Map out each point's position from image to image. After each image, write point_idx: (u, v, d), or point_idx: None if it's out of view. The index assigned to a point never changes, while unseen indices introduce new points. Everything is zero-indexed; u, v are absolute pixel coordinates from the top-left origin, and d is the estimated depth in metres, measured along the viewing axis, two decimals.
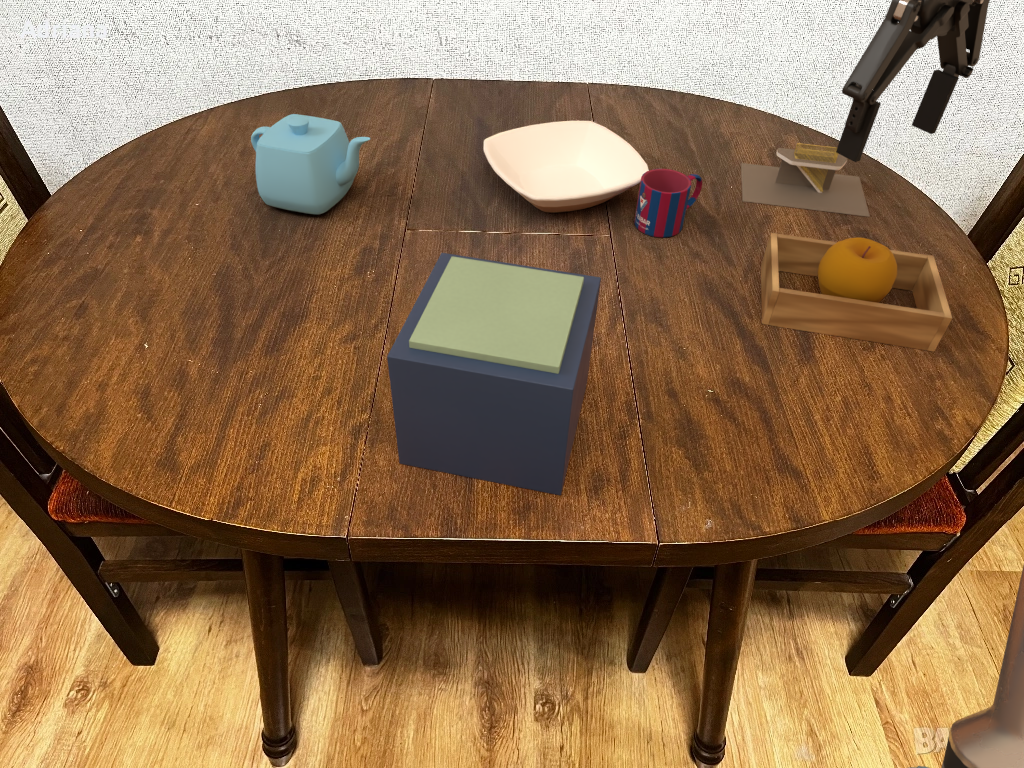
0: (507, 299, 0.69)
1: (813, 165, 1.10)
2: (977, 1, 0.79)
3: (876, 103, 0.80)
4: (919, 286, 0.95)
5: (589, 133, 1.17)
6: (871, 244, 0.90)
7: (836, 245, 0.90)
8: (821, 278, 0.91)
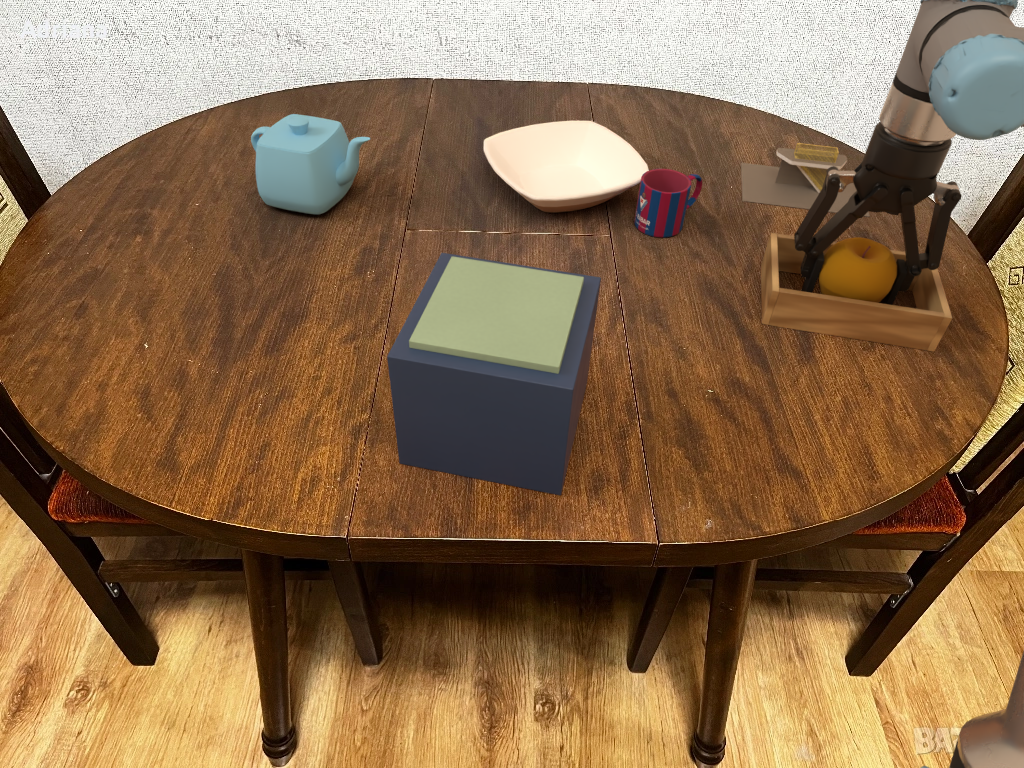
0: (507, 299, 0.69)
1: (813, 165, 1.10)
2: (938, 201, 0.82)
3: (820, 259, 0.90)
4: (919, 286, 0.95)
5: (589, 133, 1.17)
6: (871, 244, 0.90)
7: (836, 245, 0.90)
8: (821, 278, 0.91)
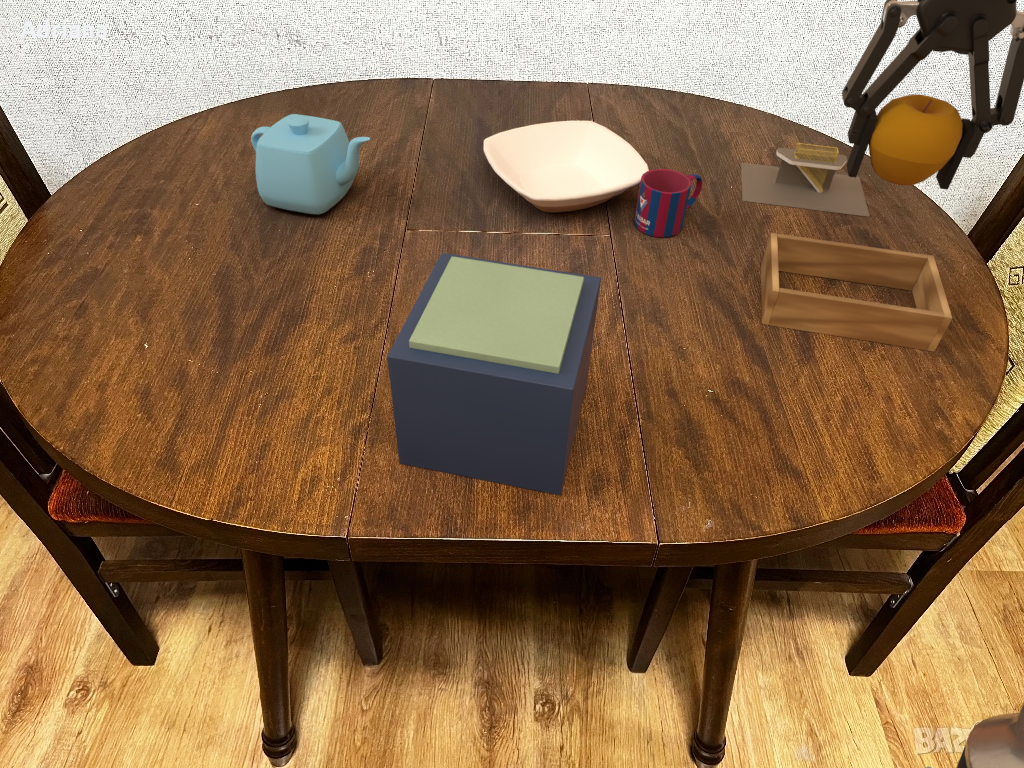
0: (507, 299, 0.69)
1: (813, 165, 1.10)
2: (1017, 34, 0.70)
3: (872, 117, 0.77)
4: (919, 286, 0.95)
5: (589, 133, 1.17)
6: (931, 101, 0.77)
7: (891, 102, 0.78)
8: (873, 142, 0.78)
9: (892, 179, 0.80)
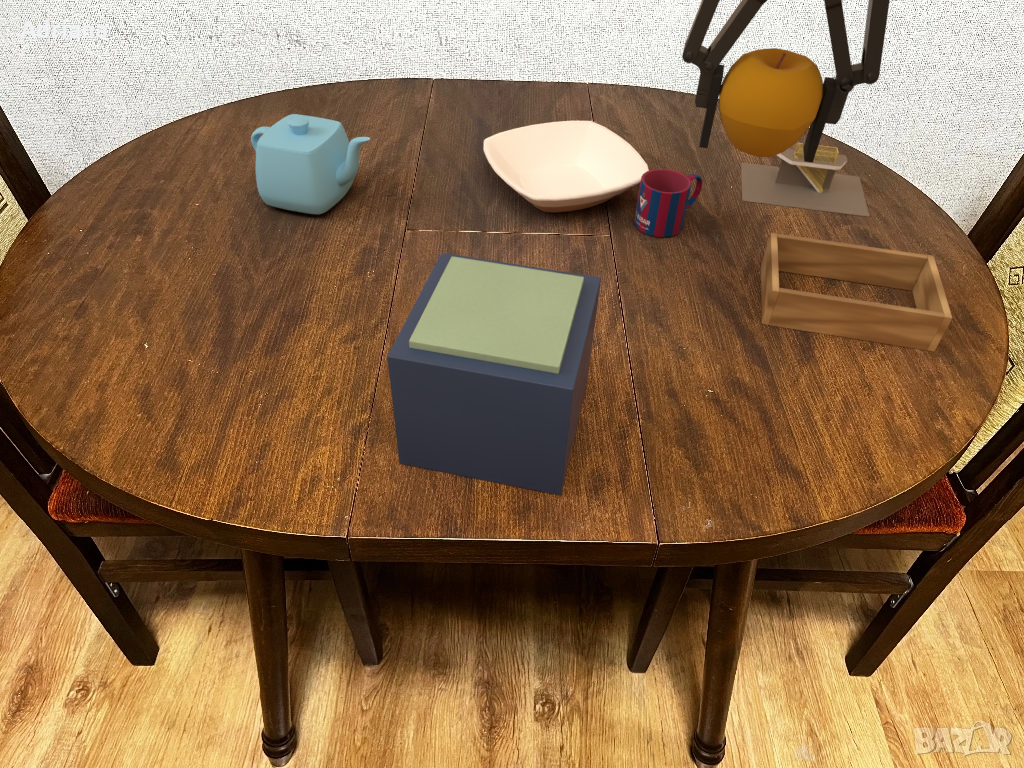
0: (507, 299, 0.69)
1: (813, 165, 1.10)
2: None
3: (717, 75, 0.65)
4: (919, 286, 0.95)
5: (589, 133, 1.17)
6: (788, 55, 0.65)
7: (740, 57, 0.65)
8: (720, 104, 0.66)
9: (747, 149, 0.68)
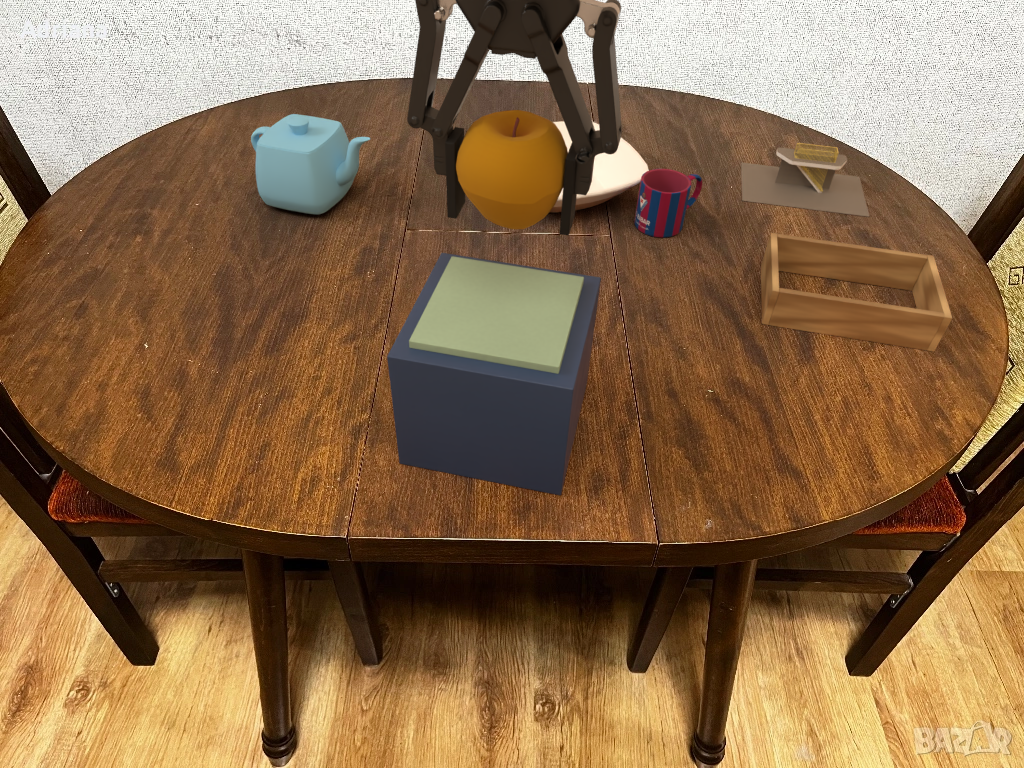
0: (507, 299, 0.69)
1: (813, 165, 1.10)
2: (588, 30, 0.50)
3: (449, 141, 0.58)
4: (919, 286, 0.95)
5: None
6: (530, 119, 0.58)
7: (476, 120, 0.58)
8: (457, 173, 0.59)
9: (494, 221, 0.61)
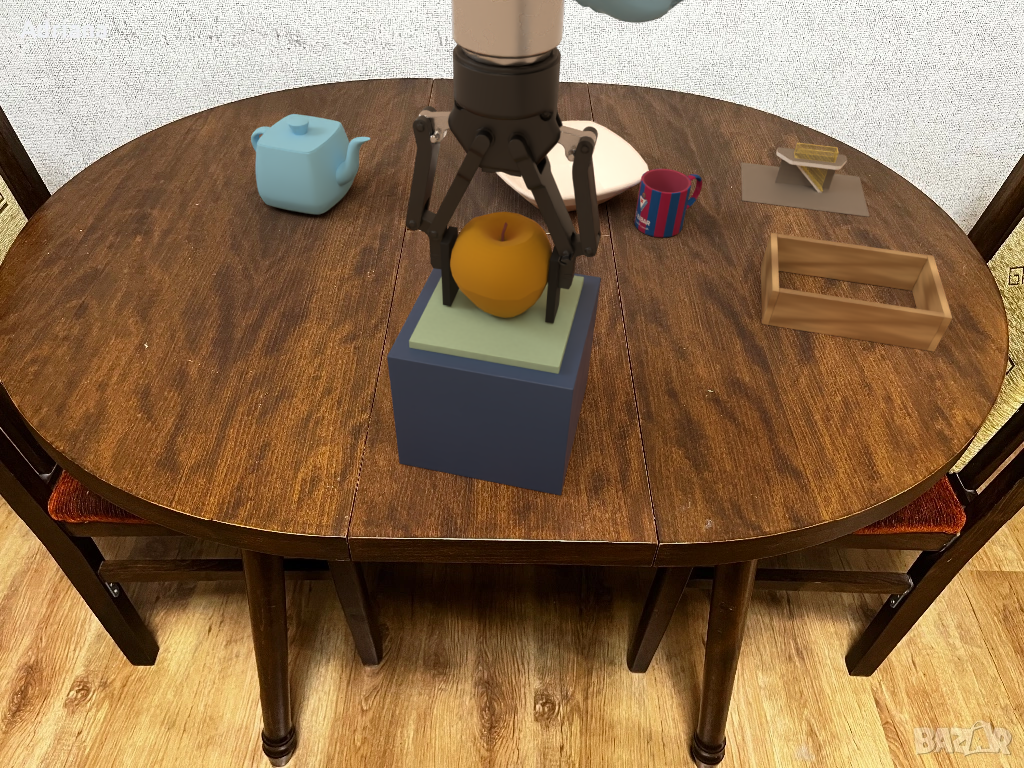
0: None
1: (813, 165, 1.10)
2: (568, 155, 0.56)
3: (444, 242, 0.64)
4: (919, 286, 0.95)
5: None
6: (517, 221, 0.64)
7: (468, 222, 0.64)
8: (451, 269, 0.65)
9: (485, 311, 0.66)
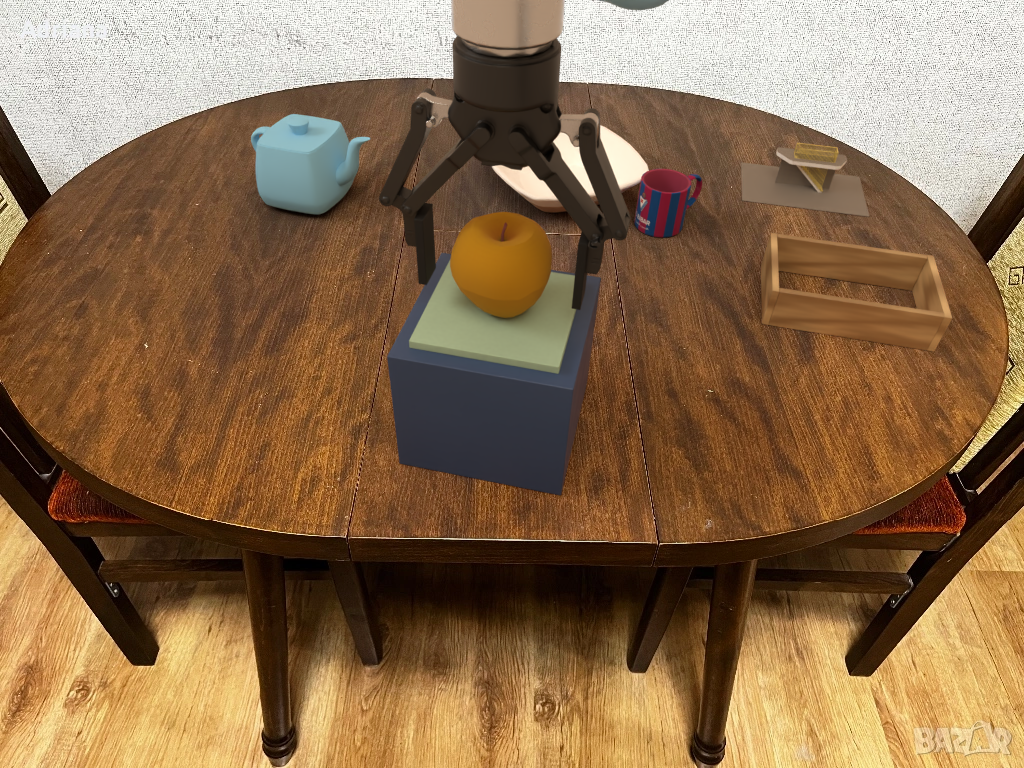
0: None
1: (813, 165, 1.10)
2: (573, 142, 0.55)
3: (417, 218, 0.62)
4: (919, 286, 0.95)
5: None
6: (517, 221, 0.64)
7: (468, 222, 0.64)
8: None
9: (485, 311, 0.66)
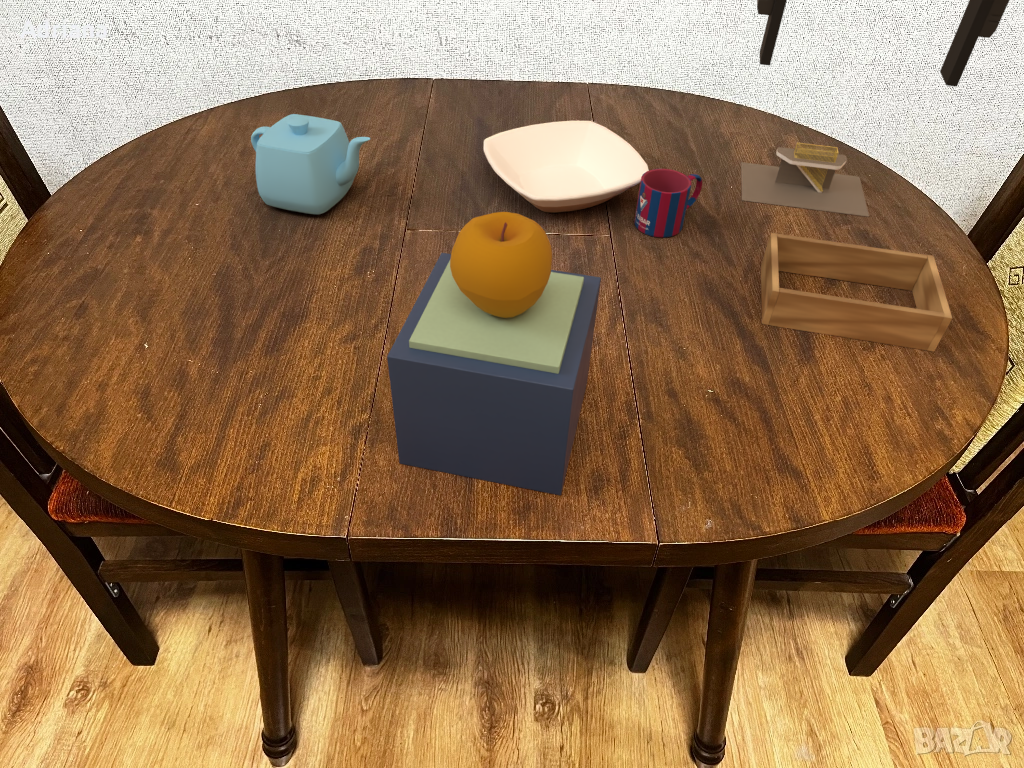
0: None
1: (813, 165, 1.10)
2: None
3: None
4: (919, 286, 0.95)
5: (589, 133, 1.17)
6: (517, 221, 0.64)
7: (468, 222, 0.64)
8: None
9: (485, 311, 0.66)
